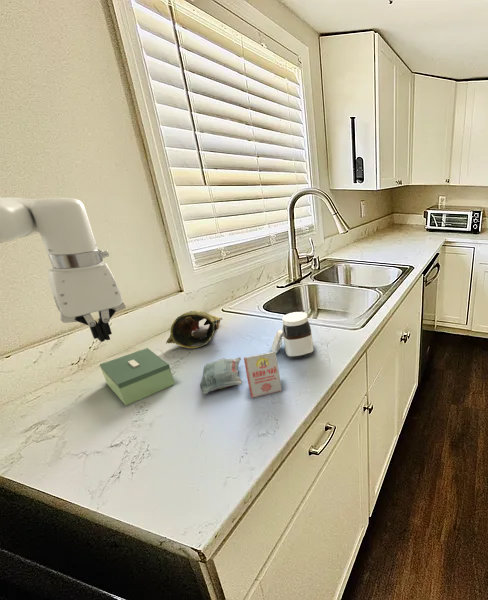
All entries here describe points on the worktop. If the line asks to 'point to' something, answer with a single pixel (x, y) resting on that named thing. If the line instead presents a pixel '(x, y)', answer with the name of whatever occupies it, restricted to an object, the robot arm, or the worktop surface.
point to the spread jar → (294, 336)
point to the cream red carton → (262, 374)
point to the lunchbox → (137, 375)
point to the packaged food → (220, 375)
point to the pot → (192, 329)
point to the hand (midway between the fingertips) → (103, 339)
